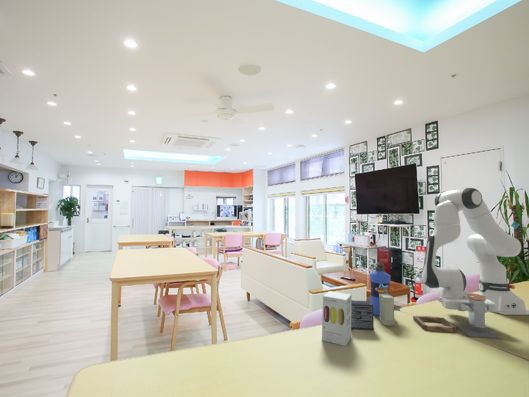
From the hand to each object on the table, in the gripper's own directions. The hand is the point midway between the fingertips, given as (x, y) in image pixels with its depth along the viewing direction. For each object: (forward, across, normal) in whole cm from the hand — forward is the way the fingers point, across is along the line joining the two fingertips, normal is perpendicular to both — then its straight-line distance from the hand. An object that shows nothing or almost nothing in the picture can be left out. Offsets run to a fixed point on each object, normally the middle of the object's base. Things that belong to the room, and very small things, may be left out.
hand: (477, 310), depth 121 cm
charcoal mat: (-1, 0, +9) cm, 9 cm away
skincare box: (-5, -35, +10) cm, 37 cm away
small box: (+2, -48, +10) cm, 49 cm away
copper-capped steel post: (-1, 0, +6) cm, 7 cm away
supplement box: (+16, -59, +10) cm, 62 cm away
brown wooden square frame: (-6, -15, +10) cm, 19 cm away
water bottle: (-17, -35, +10) cm, 40 cm away
